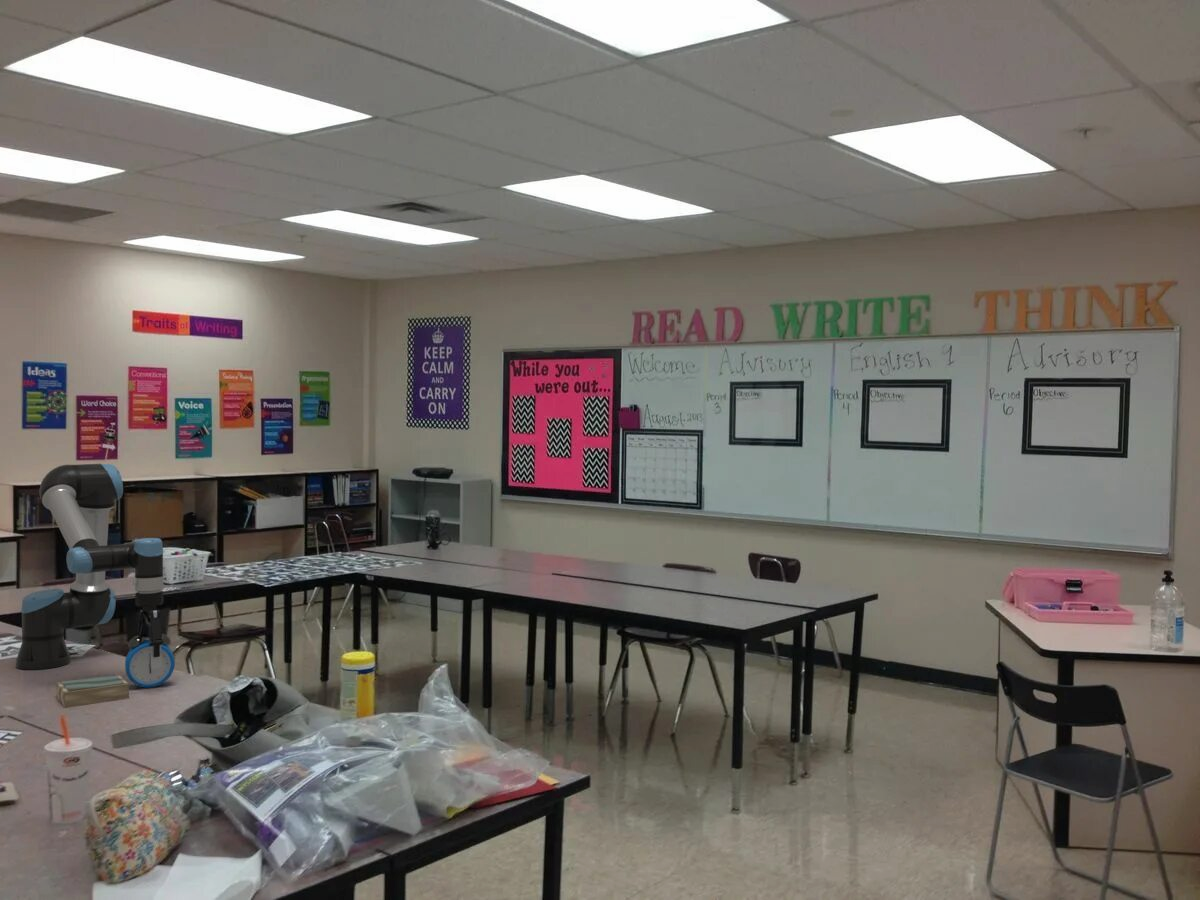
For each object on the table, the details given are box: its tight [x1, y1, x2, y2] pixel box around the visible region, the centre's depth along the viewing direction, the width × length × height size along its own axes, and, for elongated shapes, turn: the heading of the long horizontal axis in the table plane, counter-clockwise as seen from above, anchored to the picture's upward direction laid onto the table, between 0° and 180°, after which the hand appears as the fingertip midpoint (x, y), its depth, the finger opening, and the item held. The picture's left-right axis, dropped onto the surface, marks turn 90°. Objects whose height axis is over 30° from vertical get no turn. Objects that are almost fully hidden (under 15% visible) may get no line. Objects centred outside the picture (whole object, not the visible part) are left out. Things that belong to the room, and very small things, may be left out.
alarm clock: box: [124, 633, 176, 690], centre depth 299 cm, size 13×6×15 cm, turn 116°
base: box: [56, 673, 130, 708], centre depth 286 cm, size 14×16×4 cm
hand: (150, 664), depth 299 cm, fingers open, 13 cm apart
